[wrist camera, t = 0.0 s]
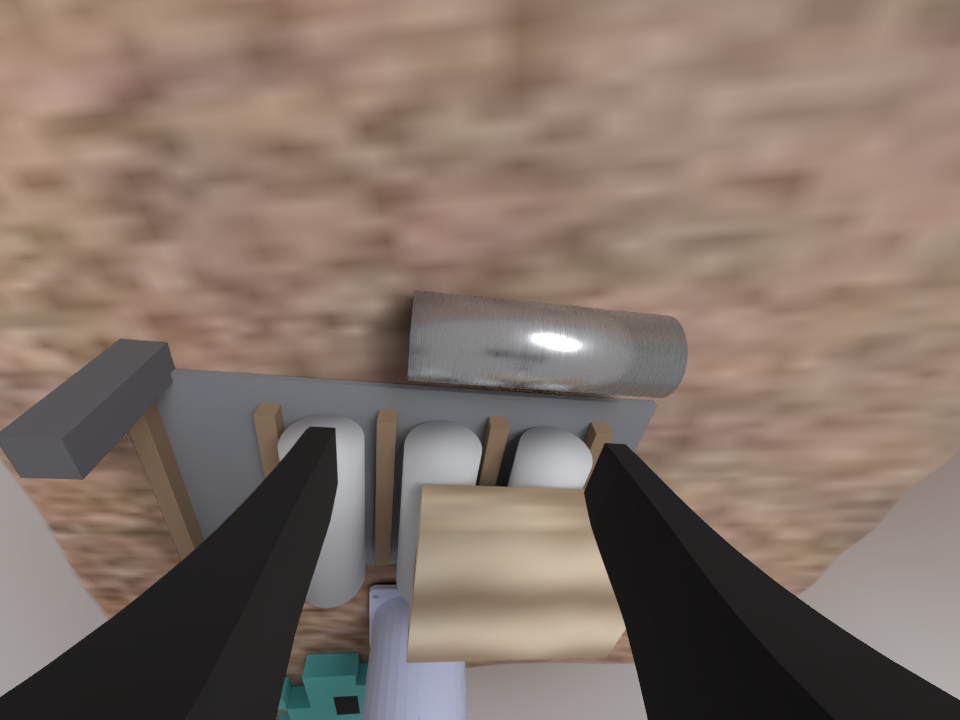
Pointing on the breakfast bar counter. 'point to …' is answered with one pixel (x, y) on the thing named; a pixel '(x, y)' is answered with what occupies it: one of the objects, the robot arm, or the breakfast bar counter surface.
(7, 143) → the breakfast bar counter surface
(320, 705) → the alien figure
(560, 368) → the loose roller
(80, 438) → the roller bed
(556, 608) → the slab
